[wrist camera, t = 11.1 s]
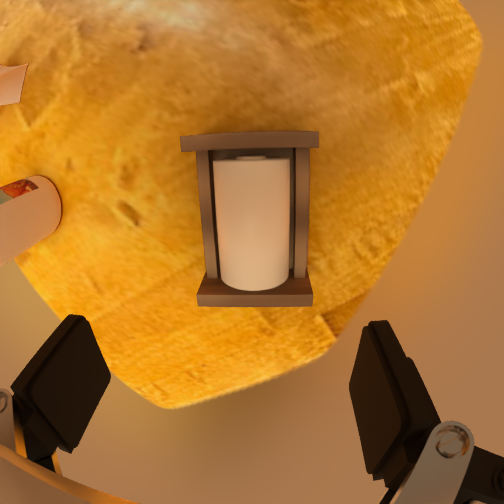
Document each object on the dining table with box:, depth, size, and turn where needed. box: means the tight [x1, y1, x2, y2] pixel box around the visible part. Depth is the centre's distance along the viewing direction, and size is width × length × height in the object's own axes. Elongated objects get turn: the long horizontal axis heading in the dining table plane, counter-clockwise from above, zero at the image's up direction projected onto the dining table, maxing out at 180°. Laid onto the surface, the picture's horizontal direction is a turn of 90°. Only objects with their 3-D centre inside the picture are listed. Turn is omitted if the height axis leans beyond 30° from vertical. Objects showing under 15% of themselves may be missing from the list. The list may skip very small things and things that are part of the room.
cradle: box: [180, 131, 319, 307], centre depth 25 cm, size 14×10×6 cm
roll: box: [213, 155, 290, 291], centre depth 24 cm, size 10×6×6 cm, turn 2°
